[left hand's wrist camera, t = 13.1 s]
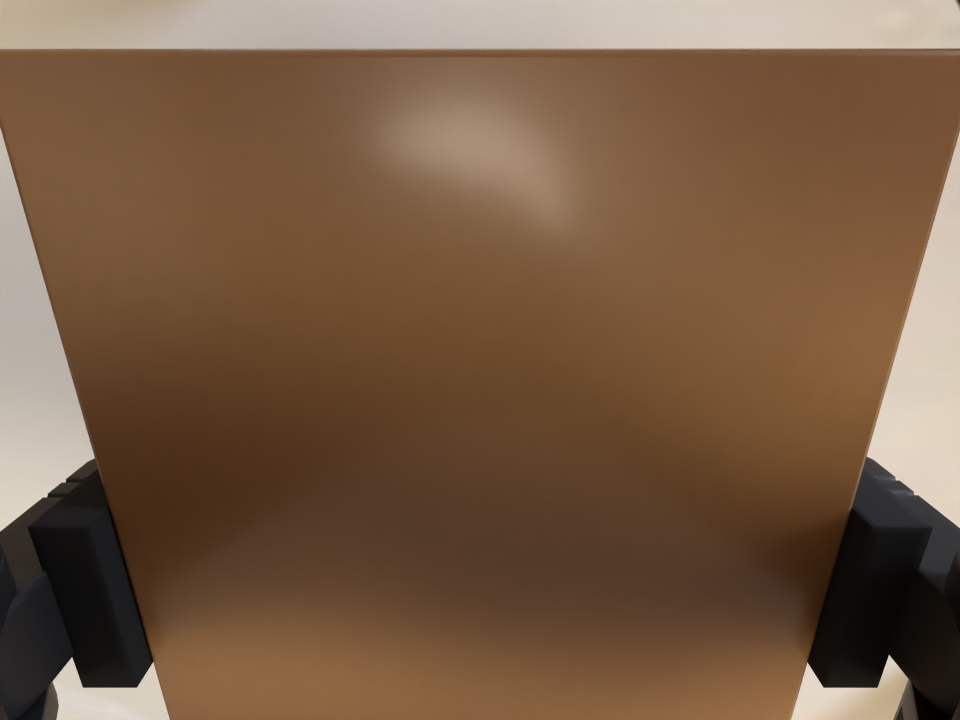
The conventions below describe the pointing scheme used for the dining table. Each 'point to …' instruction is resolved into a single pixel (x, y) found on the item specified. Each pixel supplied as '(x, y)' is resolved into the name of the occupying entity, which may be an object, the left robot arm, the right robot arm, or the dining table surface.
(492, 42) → the dining table surface
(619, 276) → the long wooden beam
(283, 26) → the dining table surface
